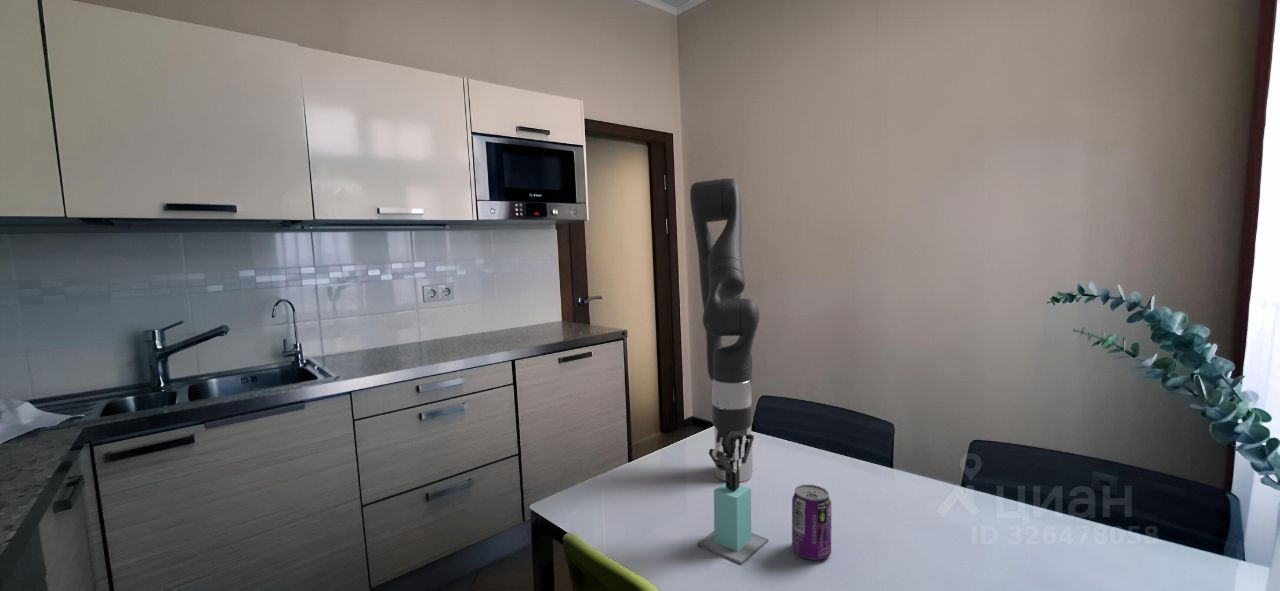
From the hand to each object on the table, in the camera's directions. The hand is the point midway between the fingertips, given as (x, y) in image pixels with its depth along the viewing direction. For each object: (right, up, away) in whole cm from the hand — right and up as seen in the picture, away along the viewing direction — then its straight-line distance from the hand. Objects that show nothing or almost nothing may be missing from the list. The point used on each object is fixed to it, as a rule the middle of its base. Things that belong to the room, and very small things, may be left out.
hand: (732, 488), depth 103 cm
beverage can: (+15, -11, -3) cm, 19 cm away
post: (0, -11, +1) cm, 11 cm away
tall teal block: (0, -11, +1) cm, 11 cm away
